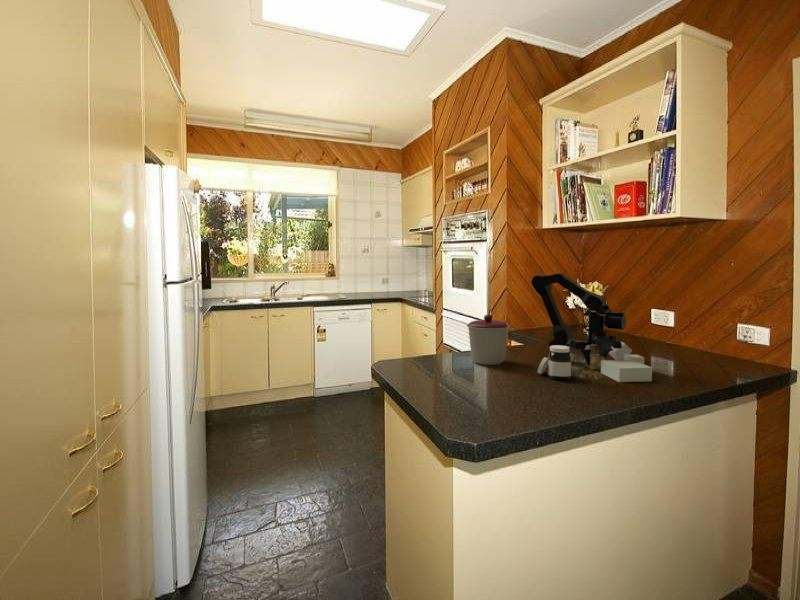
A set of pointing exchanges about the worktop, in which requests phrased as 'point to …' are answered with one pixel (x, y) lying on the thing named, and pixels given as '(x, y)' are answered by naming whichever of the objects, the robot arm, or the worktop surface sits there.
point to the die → (620, 352)
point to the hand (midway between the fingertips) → (594, 365)
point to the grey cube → (634, 358)
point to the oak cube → (595, 361)
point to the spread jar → (557, 363)
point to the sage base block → (626, 370)
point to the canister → (488, 340)
